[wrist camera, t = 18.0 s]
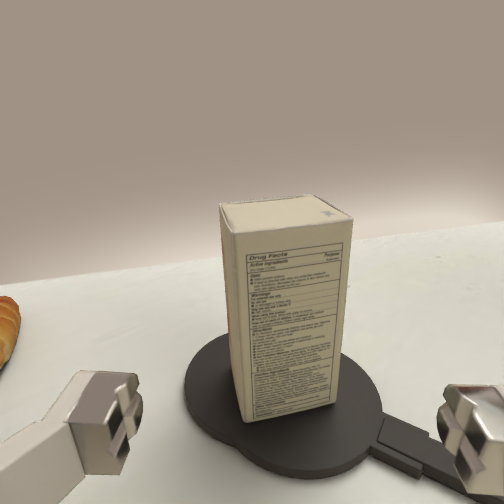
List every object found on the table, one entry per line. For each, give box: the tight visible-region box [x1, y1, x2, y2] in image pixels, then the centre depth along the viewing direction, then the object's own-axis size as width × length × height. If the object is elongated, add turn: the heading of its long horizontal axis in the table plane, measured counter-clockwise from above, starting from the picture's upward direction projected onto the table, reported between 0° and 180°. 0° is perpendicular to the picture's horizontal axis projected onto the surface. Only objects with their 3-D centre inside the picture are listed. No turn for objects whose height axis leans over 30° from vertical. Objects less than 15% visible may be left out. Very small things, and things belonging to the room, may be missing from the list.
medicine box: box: [219, 194, 353, 423], centre depth 17 cm, size 5×4×10 cm
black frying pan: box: [184, 333, 504, 504], centre depth 16 cm, size 24×9×1 cm, turn 57°
